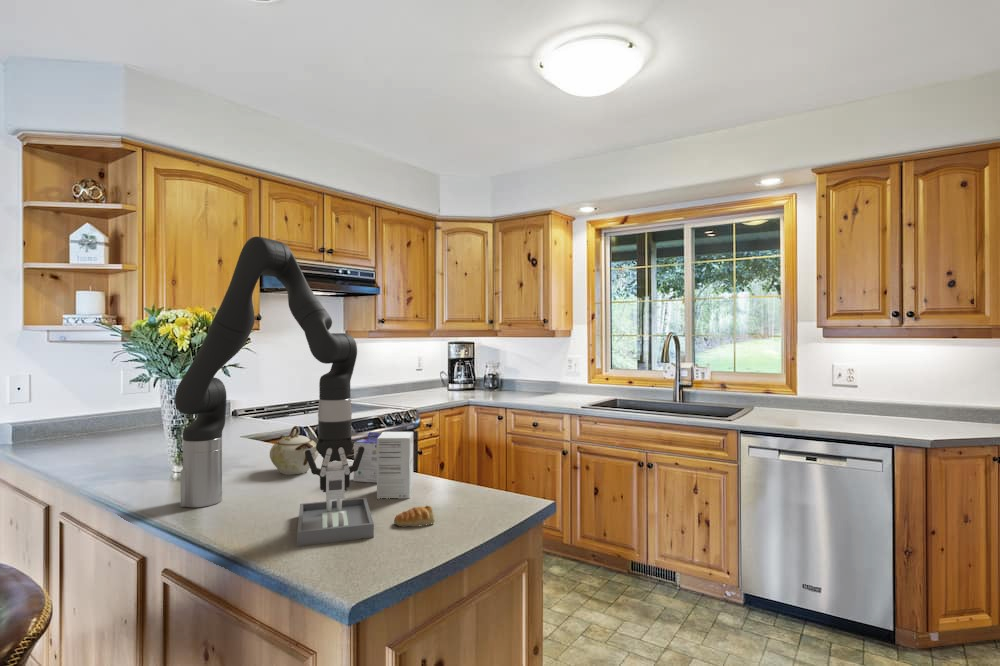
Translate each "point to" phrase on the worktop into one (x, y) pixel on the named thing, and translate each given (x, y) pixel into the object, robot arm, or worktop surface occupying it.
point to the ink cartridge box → (367, 460)
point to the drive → (335, 481)
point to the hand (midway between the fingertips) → (335, 490)
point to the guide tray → (334, 521)
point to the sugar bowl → (292, 453)
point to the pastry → (415, 517)
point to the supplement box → (394, 465)
